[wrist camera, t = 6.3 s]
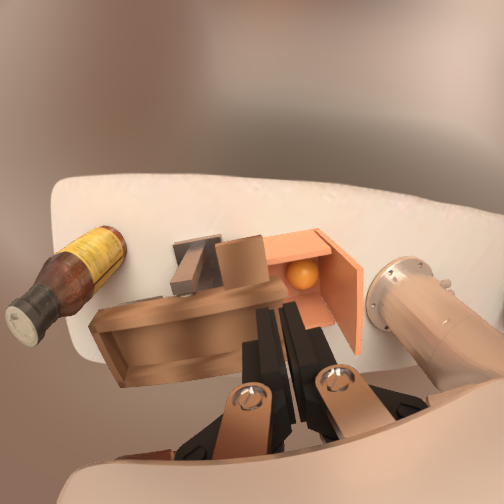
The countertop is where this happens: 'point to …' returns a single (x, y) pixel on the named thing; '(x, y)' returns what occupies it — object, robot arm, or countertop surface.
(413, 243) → the countertop surface
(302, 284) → the ball
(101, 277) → the sauce bottle
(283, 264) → the cup
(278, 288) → the brown wooden tray
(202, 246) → the stand
